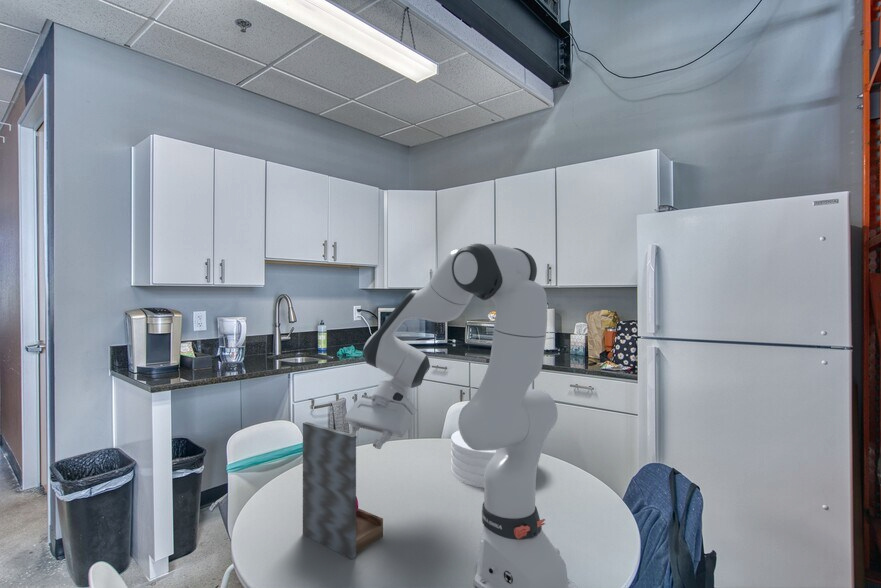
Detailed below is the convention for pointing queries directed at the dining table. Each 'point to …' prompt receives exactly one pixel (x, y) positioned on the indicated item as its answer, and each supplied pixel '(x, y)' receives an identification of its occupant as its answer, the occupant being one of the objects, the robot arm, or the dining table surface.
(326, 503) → the ledge shelf
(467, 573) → the dining table surface
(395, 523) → the dining table surface
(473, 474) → the plate stack
